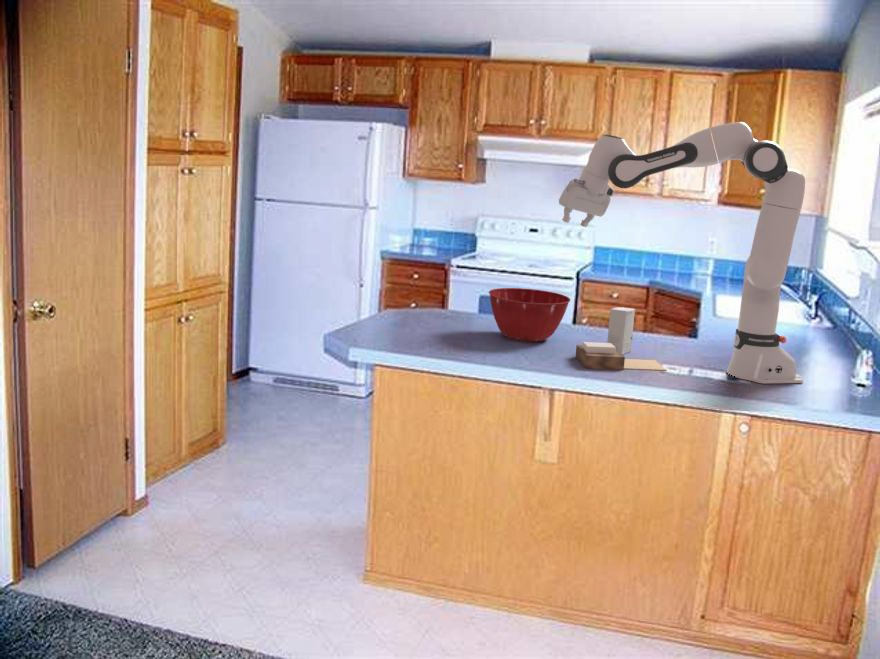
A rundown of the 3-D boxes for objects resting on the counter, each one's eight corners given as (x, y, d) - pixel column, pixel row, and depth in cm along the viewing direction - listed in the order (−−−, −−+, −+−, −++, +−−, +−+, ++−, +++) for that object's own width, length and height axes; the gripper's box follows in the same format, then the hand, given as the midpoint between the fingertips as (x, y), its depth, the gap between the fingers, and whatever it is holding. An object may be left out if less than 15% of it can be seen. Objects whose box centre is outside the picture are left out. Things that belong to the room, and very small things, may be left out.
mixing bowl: (564, 332, 319) (568, 291, 316) (568, 350, 291) (572, 305, 288) (487, 326, 322) (490, 285, 318) (483, 343, 294) (486, 298, 291)
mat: (654, 361, 284) (654, 360, 284) (666, 370, 273) (666, 369, 273) (612, 359, 283) (612, 358, 283) (622, 368, 271) (622, 367, 271)
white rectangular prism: (610, 349, 279) (610, 343, 279) (615, 353, 273) (615, 347, 273) (582, 348, 278) (583, 341, 278) (586, 352, 273) (587, 346, 272)
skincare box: (622, 355, 289) (626, 311, 286) (605, 352, 292) (609, 308, 289) (631, 351, 296) (636, 308, 293) (614, 348, 299) (619, 305, 296)
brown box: (611, 358, 284) (613, 346, 283) (623, 369, 270) (624, 357, 270) (575, 356, 283) (576, 344, 282) (585, 368, 270) (586, 355, 269)
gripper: (579, 181, 267) (560, 222, 271) (618, 192, 281) (600, 232, 285) (565, 173, 271) (547, 215, 275) (604, 186, 285) (586, 225, 289)
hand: (574, 224), depth 280 cm, fingers open, 8 cm apart
